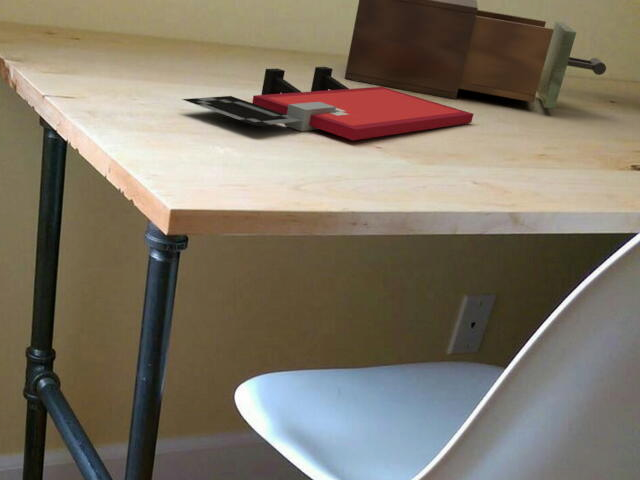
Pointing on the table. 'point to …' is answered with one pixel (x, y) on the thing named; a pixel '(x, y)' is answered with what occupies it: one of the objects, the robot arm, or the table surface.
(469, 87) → the drawer
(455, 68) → the cabinet
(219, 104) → the red board with handle
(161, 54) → the table surface
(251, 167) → the table surface
